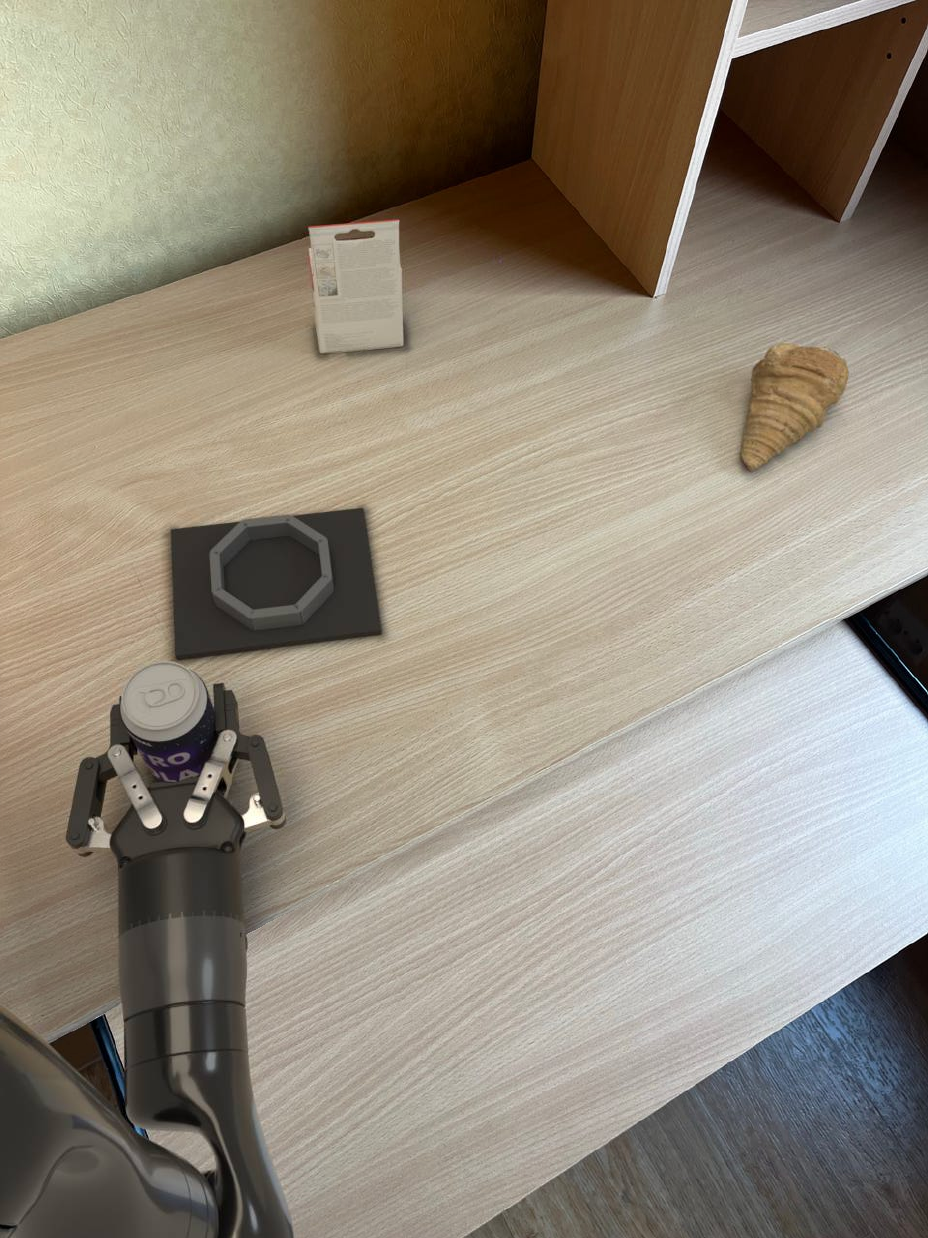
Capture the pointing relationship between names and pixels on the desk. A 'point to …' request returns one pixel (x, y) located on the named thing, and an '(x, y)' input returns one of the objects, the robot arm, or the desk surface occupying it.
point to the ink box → (357, 287)
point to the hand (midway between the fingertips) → (174, 694)
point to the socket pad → (272, 583)
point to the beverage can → (169, 720)
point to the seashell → (789, 398)
